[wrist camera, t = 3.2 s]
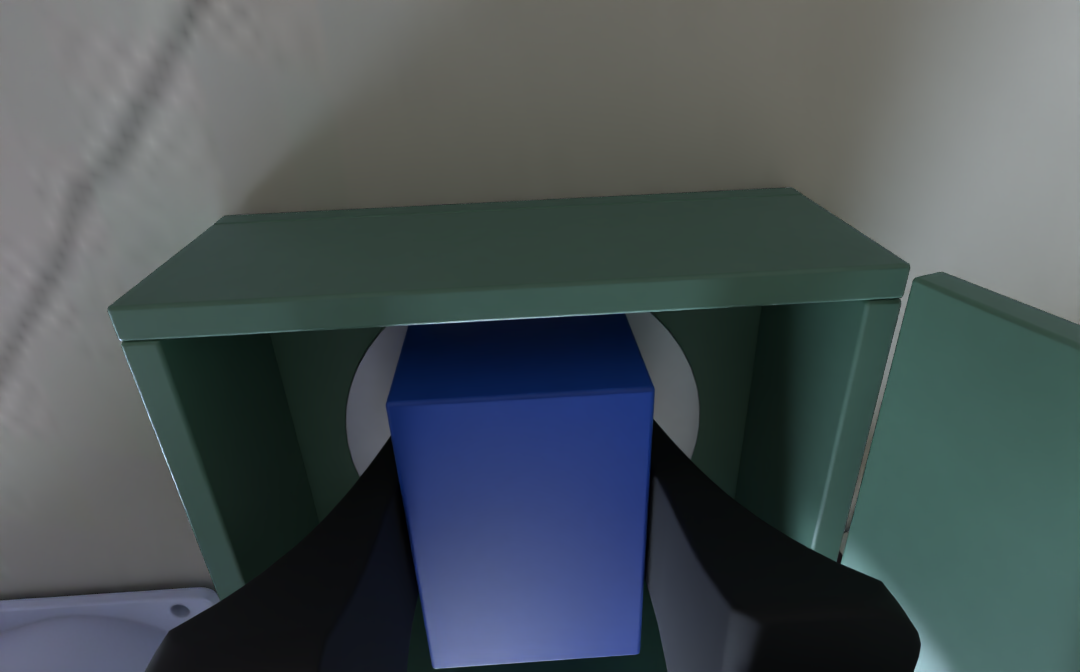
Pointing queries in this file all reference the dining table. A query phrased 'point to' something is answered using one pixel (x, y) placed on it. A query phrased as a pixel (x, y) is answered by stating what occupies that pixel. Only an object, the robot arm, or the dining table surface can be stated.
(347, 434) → the plate
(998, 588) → the lid
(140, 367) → the box
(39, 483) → the dining table surface
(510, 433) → the block
